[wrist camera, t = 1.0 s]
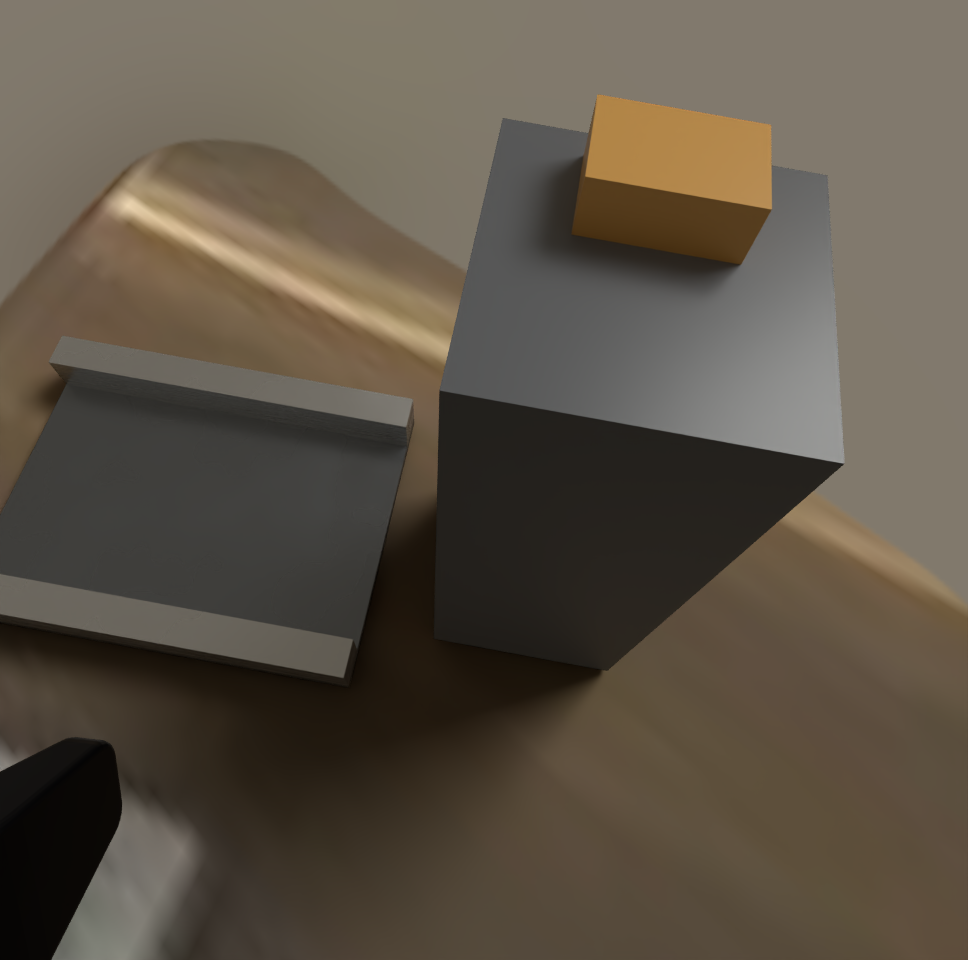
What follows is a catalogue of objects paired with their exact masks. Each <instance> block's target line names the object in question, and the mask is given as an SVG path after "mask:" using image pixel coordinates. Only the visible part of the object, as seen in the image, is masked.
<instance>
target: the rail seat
mask: <svg viewBox="0 0 968 960" xmlns="http://www.w3.org/2000/svg"><path fill="white" fill-rule="evenodd" d="M49 363H50V365H51V366H52V367H53V368H54V370H55V371H56V372H57V373H58V374H59V376H60V377H61V378H62V379H63V380H64V382H65V383H66V386H65V388H64V390H63V392H62V394H61V396H60V398H59V400H58V402H57V404H56V406H55V408H54V410H53V412H52V414H51V416H50V418H49V420H48V422H47V424H46V426H45V428H44V430H43V432H42V434H41V435H40V437H39V439H38V441H37V443H36V445H35V447H34V449H33V451H32V453H31V455H30V457H29V459H28V461H27V463H26V465H25V467H24V469H23V471H22V473H21V475H20V477H19V479H18V481H17V483H16V485H15V487H14V489H13V491H12V493H11V495H10V497H9V499H8V501H7V503H6V505H5V507H4V509H3V511H2V513H1V515H0V623H3V624H8V625H14V626H19V627H24V628H30V629H35V630H41V631H46V632H51V633H57V634H62V635H68V636H73V637H78V638H84V639H89V640H94V641H100V642H105V643H111V644H116V645H121V646H127V647H132V648H137V649H143V650H148V651H154V652H159V653H164V654H170V655H175V656H181V657H186V658H191V659H197V660H202V661H207V662H213V663H218V664H224V665H229V666H234V667H240V668H245V669H250V670H256V671H261V672H267V673H272V674H277V675H283V676H288V677H294V678H299V679H304V680H310V681H315V682H320V683H326V684H331V685H337V686H342V687H347V688H349V687H350V683H351V679H352V675H353V671H354V667H355V663H356V659H357V655H358V651H359V647H360V642H361V638H362V634H363V630H364V626H365V622H366V618H367V614H368V610H369V606H370V602H371V598H372V594H373V589H374V585H375V581H376V577H377V573H378V569H379V565H380V561H381V557H382V553H383V549H384V545H385V540H386V536H387V532H388V528H389V524H390V520H391V516H392V512H393V508H394V504H395V500H396V496H397V491H398V487H399V483H400V479H401V475H402V471H403V467H404V463H405V459H406V455H407V451H408V447H409V442H410V438H411V434H412V430H413V426H414V409H413V399H409V398H404V397H398V396H393V395H387V394H382V393H376V392H371V391H365V390H360V389H354V388H348V387H343V386H337V385H332V384H326V383H321V382H315V381H310V380H304V379H299V378H293V377H288V376H282V375H277V374H271V373H265V372H260V371H254V370H249V369H243V368H238V367H232V366H227V365H221V364H216V363H210V362H205V361H199V360H193V359H188V358H182V357H177V356H171V355H166V354H160V353H155V352H149V351H144V350H138V349H133V348H127V347H122V346H116V345H110V344H105V343H99V342H94V341H88V340H83V339H77V338H72V337H66V336H62V338H61V339H60V341H59V343H58V345H57V347H56V349H55V351H54V353H53V355H52V356H51V358H50V360H49Z"/></svg>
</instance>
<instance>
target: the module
mask: <svg viewBox="0 0 968 960" xmlns="http://www.w3.org/2000/svg"><path fill="white" fill-rule="evenodd" d="M843 449H844V448H843V431H842V414H841V398H840V380H839V364H838V346H837V330H836V313H835V295H834V279H833V261H832V246H831V228H830V211H829V194H828V178H827V175H822V174H817V173H811V172H806V171H800V170H794V169H789V168H783V167H777V166H772V165H771V125H769V124H763V123H757V122H752V121H746V120H740V119H734V118H728V117H723V116H717V115H712V114H706V113H700V112H694V111H689V110H683V109H677V108H672V107H666V106H661V105H654V104H649V103H643V102H637V101H631V100H626V99H620V98H614V97H609V96H604V95H597V99H596V103H595V108H594V112H593V116H592V121H591V125H590V130H589V133H584V132H579V131H573V130H567V129H562V128H556V127H550V126H545V125H539V124H533V123H528V122H522V121H516V120H510V119H505V118H503V120H502V124H501V129H500V133H499V138H498V141H497V146H496V150H495V155H494V159H493V163H492V167H491V172H490V176H489V180H488V184H487V189H486V193H485V198H484V202H483V206H482V210H481V215H480V219H479V223H478V227H477V232H476V236H475V241H474V245H473V249H472V253H471V258H470V262H469V266H468V270H467V275H466V279H465V283H464V288H463V292H462V296H461V301H460V305H459V309H458V313H457V318H456V322H455V326H454V331H453V335H452V339H451V343H450V348H449V352H448V356H447V361H446V365H445V369H444V374H443V378H442V382H441V386H440V394H439V437H438V479H437V522H436V564H435V607H434V639H438V640H444V641H449V642H454V643H460V644H465V645H471V646H476V647H482V648H487V649H492V650H498V651H503V652H509V653H514V654H519V655H525V656H530V657H536V658H541V659H546V660H552V661H557V662H563V663H568V664H573V665H579V666H584V667H590V668H595V669H600V670H606V671H607V670H609V669H610V668H611V667H612V666H613V665H614V664H615V663H617V662H618V661H619V660H620V659H621V658H622V657H623V656H625V655H626V654H627V653H628V652H629V651H630V650H631V649H633V648H634V647H635V646H636V645H637V644H638V643H639V642H641V641H642V640H643V639H644V638H645V637H646V636H648V635H649V634H650V633H651V632H652V631H653V630H654V629H656V628H657V627H658V626H659V625H660V624H661V623H662V622H664V621H665V620H666V619H667V618H668V617H669V616H670V615H672V614H673V613H674V612H675V611H676V610H677V609H678V608H680V607H681V606H682V605H683V604H684V603H685V602H686V601H688V600H689V599H690V598H691V597H692V596H693V595H695V594H696V593H697V592H698V591H699V590H700V589H701V588H703V587H704V586H705V585H706V584H707V583H708V582H709V581H711V580H712V579H713V578H714V577H715V576H716V575H717V574H719V573H720V572H721V571H722V570H723V569H724V568H725V567H727V566H728V565H729V564H730V563H731V562H732V561H733V560H735V559H736V558H737V557H738V556H739V555H740V554H742V553H743V552H744V551H745V550H746V549H747V548H748V547H750V546H751V545H752V544H753V543H754V542H755V541H756V540H758V539H759V538H760V537H761V536H762V535H763V534H764V533H766V532H767V531H768V530H769V529H770V528H771V527H772V526H774V525H775V524H776V523H777V522H778V521H779V520H780V519H782V518H783V517H784V516H785V515H786V514H787V513H789V512H790V511H791V510H792V509H793V508H794V507H795V506H797V505H798V504H799V503H800V502H801V501H802V500H803V499H805V498H806V497H807V496H808V495H809V494H810V493H811V492H813V491H814V490H815V489H816V488H817V487H818V486H819V485H820V484H822V483H823V482H824V481H825V480H826V479H827V478H829V477H830V476H831V475H832V474H833V473H834V472H835V471H837V470H838V469H839V468H840V467H841V466H842V465H843V464H844V450H843Z"/></svg>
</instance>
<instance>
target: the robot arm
mask: <svg viewBox="0 0 968 960" xmlns="http://www.w3.org/2000/svg"><path fill="white" fill-rule="evenodd" d="M121 813H122V798H121V791H120V784H119V777H118V770H117V763H116V756H115V751H114V749H113V747H112V745H111V744H110V743H108V742H106V741H103V740H95V739H87V738H78V737H74V738H67V739H65V740H62V741H60V742H58V743H56V744H54V745H52V746H50V747H48V748H46V749H44V750H42V751H40V752H38V753H36V754H34V755H32V756H30V757H28V758H26V759H24V760H22V761H20V762H18V763H16V764H14V765H12V766H10V767H8V768H6V769H5V770H3V771H1V772H0V960H51V959H52V957H53V955H54V953H55V951H56V949H57V947H58V945H59V943H60V941H61V939H62V937H63V935H64V933H65V931H66V929H67V927H68V925H69V923H70V922H71V920H72V918H73V916H74V914H75V912H76V910H77V908H78V906H79V904H80V902H81V900H82V898H83V896H84V894H85V892H86V890H87V888H88V886H89V884H90V882H91V880H92V878H93V876H94V874H95V872H96V870H97V868H98V866H99V864H100V862H101V860H102V858H103V856H104V854H105V852H106V850H107V848H108V846H109V844H110V842H111V840H112V838H113V836H114V834H115V832H116V830H117V827H118V825H119V822H120V818H121Z"/></svg>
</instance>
